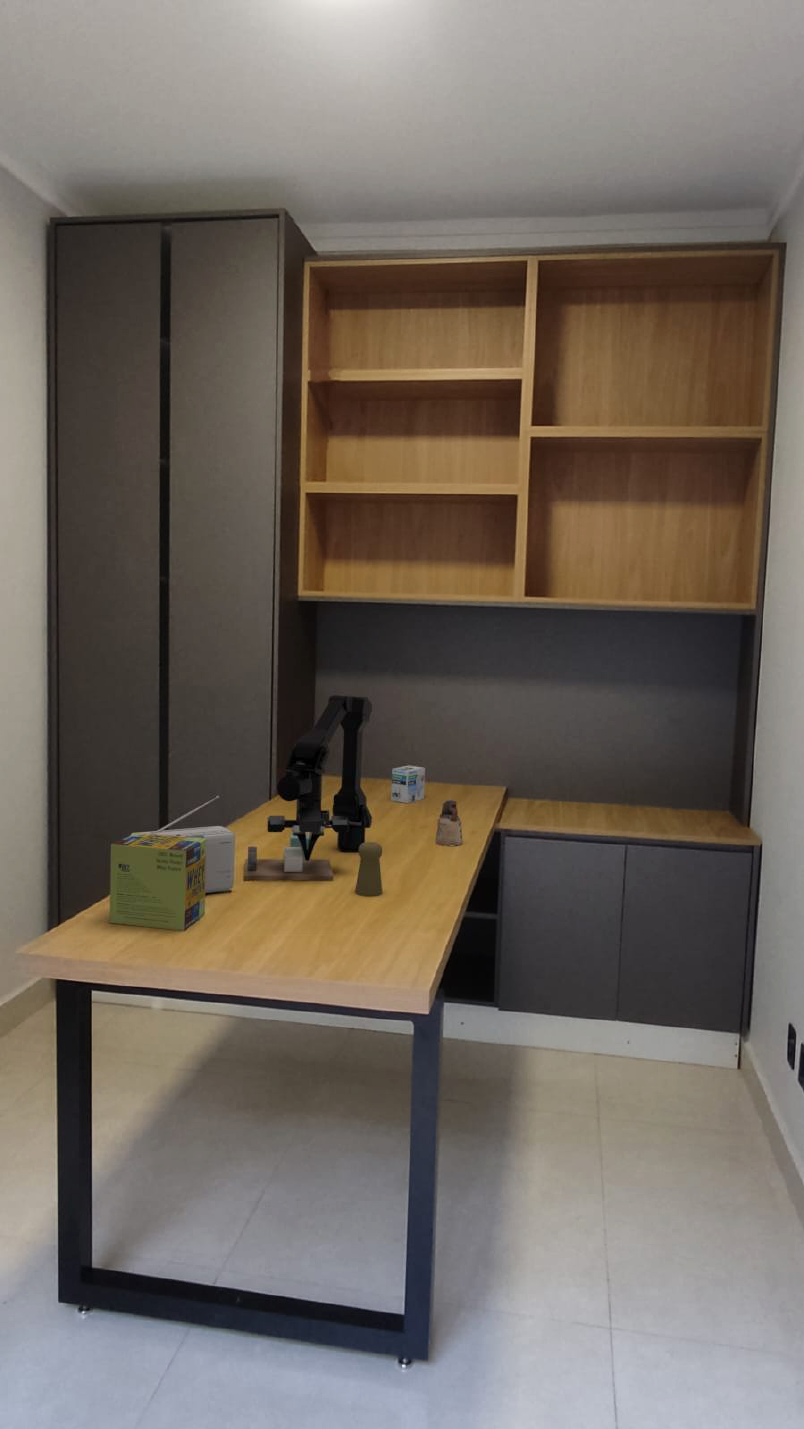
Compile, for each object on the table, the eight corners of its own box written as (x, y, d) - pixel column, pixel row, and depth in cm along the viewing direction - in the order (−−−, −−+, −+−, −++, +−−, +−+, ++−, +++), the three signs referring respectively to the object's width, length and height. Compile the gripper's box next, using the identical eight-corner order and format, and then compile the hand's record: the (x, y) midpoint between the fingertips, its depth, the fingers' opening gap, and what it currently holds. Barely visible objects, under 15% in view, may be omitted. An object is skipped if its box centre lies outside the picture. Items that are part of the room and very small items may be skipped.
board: (328, 864, 228) (329, 843, 228) (333, 880, 214) (334, 858, 214) (244, 864, 225) (245, 842, 224) (244, 880, 211) (244, 857, 211)
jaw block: (307, 857, 233) (308, 834, 233) (308, 862, 229) (309, 838, 228) (289, 857, 233) (290, 834, 232) (290, 862, 228) (290, 838, 228)
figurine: (456, 839, 259) (458, 796, 258) (466, 845, 253) (468, 801, 251) (432, 840, 257) (434, 797, 256) (441, 846, 250) (443, 802, 249)
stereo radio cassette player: (137, 905, 191) (138, 807, 189) (126, 893, 198) (127, 800, 196) (235, 893, 202) (237, 801, 200) (221, 883, 209) (223, 793, 207)
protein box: (185, 931, 177) (186, 850, 175) (108, 923, 179) (109, 843, 178) (206, 914, 187) (208, 837, 185) (133, 907, 190) (134, 831, 188)
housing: (300, 861, 224) (300, 846, 224) (302, 871, 216) (302, 856, 215) (283, 861, 224) (283, 846, 223) (284, 871, 215) (284, 856, 215)
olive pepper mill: (384, 896, 204) (386, 846, 203) (356, 896, 203) (358, 846, 202) (380, 888, 210) (382, 839, 209) (353, 888, 209) (355, 839, 208)
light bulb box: (407, 803, 306) (408, 770, 305) (390, 800, 310) (391, 768, 309) (424, 799, 315) (426, 767, 314) (407, 796, 319) (409, 764, 318)
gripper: (268, 800, 209) (267, 869, 211) (352, 801, 212) (350, 869, 214) (268, 791, 220) (266, 857, 222) (348, 792, 223) (345, 857, 224)
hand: (307, 860), depth 220 cm, fingers closed
